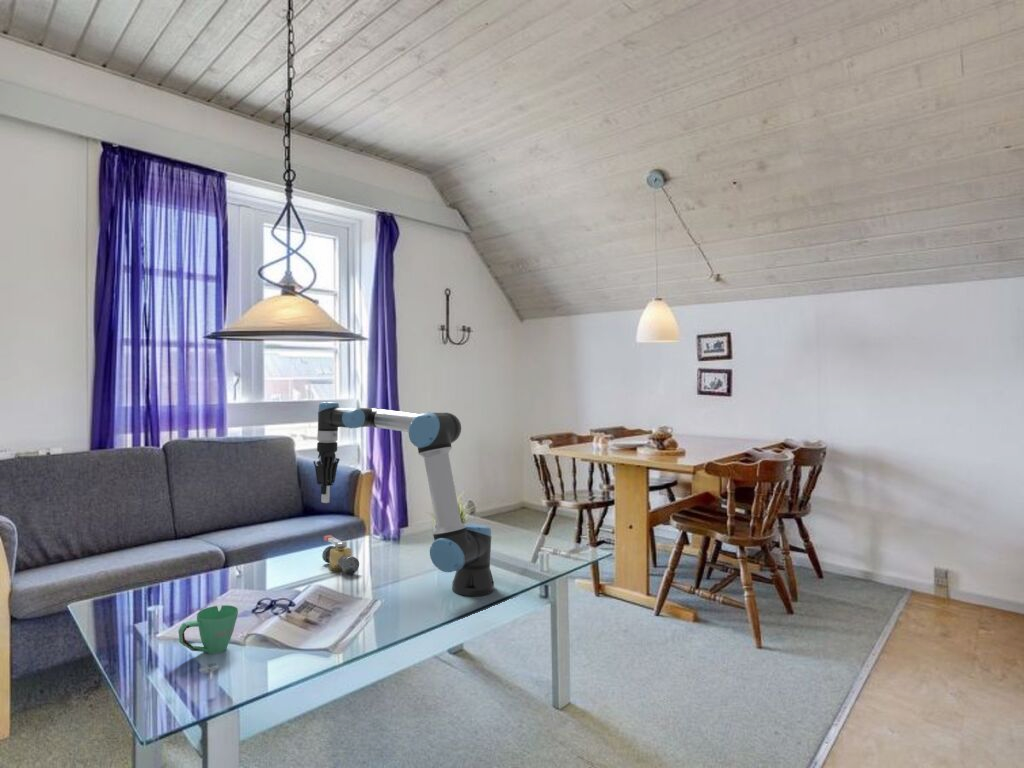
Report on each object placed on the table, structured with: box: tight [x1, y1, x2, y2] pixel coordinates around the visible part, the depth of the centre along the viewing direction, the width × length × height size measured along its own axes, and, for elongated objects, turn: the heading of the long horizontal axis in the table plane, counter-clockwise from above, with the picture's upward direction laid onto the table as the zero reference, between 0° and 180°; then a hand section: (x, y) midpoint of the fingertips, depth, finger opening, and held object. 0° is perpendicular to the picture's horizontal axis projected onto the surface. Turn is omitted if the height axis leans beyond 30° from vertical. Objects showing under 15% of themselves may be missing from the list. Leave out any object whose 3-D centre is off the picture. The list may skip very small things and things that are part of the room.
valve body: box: [321, 545, 360, 576], centre depth 225 cm, size 20×8×8 cm, turn 41°
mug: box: [178, 604, 239, 655], centre depth 151 cm, size 15×10×10 cm
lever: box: [323, 534, 348, 548], centre depth 229 cm, size 15×4×2 cm, turn 41°
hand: (325, 502), depth 224 cm, fingers closed
